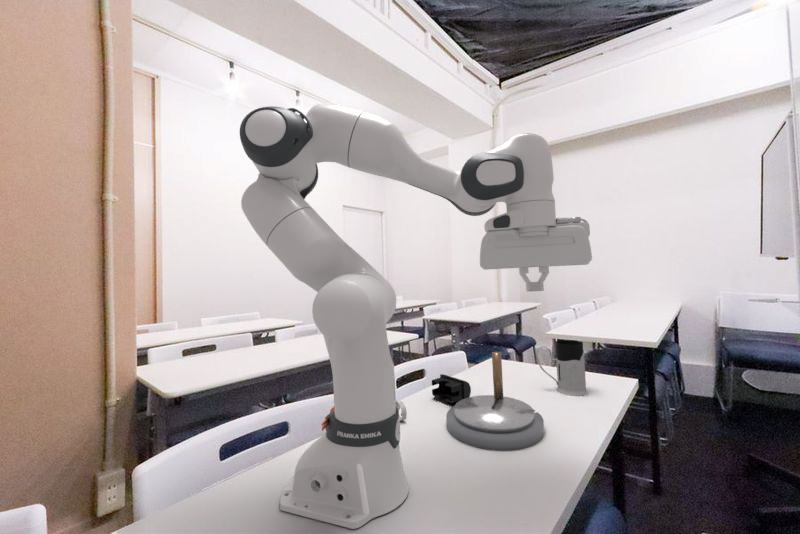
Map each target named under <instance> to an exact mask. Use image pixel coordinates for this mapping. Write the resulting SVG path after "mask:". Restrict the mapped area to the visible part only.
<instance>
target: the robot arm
mask: <svg viewBox="0 0 800 534" xmlns="http://www.w3.org/2000/svg"><path fill="white" fill-rule="evenodd" d="M239 139H240V143H241V146H242V148H243V150H244V153H245V154H246V156H247V157H248V158H249V160H251V161H252V164H253V165H254V166H255V168H256V169H257V171H258V172H259V173H258V175H257V179H256V180H255V181H254V182H252V183H251V184H250V185H248V186H247V188H246V189H245V191H244V192H243V194H242V195H241V200H240V201H241V202H240V205H241V206H240V207H241V209H242V211H243V215H244V216H245V217H246V219H247V221H248V222H249V224H250V225H251V227H252V229H253V230H254V232H256V234H257V236H258V237H259V238H260V239H261V241H262V242H263V243H264V244H265V245H266V246H267V247H268V249H269V250H270V252H271V253H273V254H274V256H275V257H276V258H277V259H278V260H279V261H280V262H281V263H282V265H284V267H285V268H286V269H287V270H288V271H289V272H290V273H291V274H292V276H293V277H294V278H295V279H297V280H298V281H300V282H302V283H303V284H305V285H307V286H308V287H310V288H311V289H312V290H314V291H315V292H316V295H315V297H314V298H313V303H312V308H311V309H312V311H311V312H312V319H313V322H314V324H315V326H316V328H317V329H318V330H319V332H320V334H322V335H323V339H324V342H325V347H326V350H327V353H328V358H329V362H330V366H331V367H330V368H331V373H332V385H333V386H332V387H333V389H332V390H333V403H334V404H333V407H331V409H330V410H329V411H330V412H329V413H328V414H327V415H326V416H325V418H324V421H322V423H321V426H322V427H321V431H324V430H325V432H324V433H323V435H321V436H320V437H319V438H317V440H315V441H314V442H313V443H311V445H310V446H308V447H307V448H306V450H305V451H304V452H303V453H302V454H301V456H300V458H299V459H298V461H297V463H296V466H295V469H294V472H293V473H294V474H293V476H292V477H291V478H290V480H289V481H288V482H287V483H286V485H285V487H284V488H283V490H282V491H281V495H280V498H279V509H280V511H283V512H286V513H289V514H294V515H297V516H298V515H299V516H301V517H305V518H309V519H313V520H316V521H321V522H325V523H327V524H328V523H329V524H333V525H335V526H336V525H337V526H339V527H344V528H347V529H352V530H354V529H358V528H360V527H362V526H363V525H365V524H367V523H368V522H369V521H370V520H372V519H374V518H377V517H379V516H382V515H385V514H387V513H390V512H392V511H393V510H395V509H397V508H398V507H400V505H402V503H404V501H405V500H406V499H407V497H408V495H409V492H410V485H409V481H408V479H407V475H406V473H405V468H404V466H403V465H404V464H403V460H402V455H401V450H400V449H401V448H400V441H401V421H400V418H399V415H400V411H399V412H398V408H397V407H396V401H397V400H396V381H395V380H396V379H395V378H396V377H395V375H396V374H395V365H394V362H393V359H392V356H391V350H390V346H389V341H388V340H389V339H388V332H387V323H388V322H389V321H390V320H391V319H392V317H393V316H394V313H395V312H396V311H395V310H396V308H397V296H396V295H397V294H396V292H395V289H394V287H393V285H392V284H391V283H390V282H389V281H388V280H387V279H386V278H385V277H384V276H383V275H382V274H381V273H380V272H378V270H377V269H376V268H374V267H373V265H371V264H370V263H369V262H368V261H367V260H366V259H364V257H362V256H361V255H360V254H359V253H358V252H357V251H356V250H355V249H354V248H352V247H351V246H350V245H349V244H348V243H346V241H344V240H343V239H342V238H341V236H339V235H338V233H336V231H335V230H333V228H332V227H331V226H330V225H329V224H328V222H326V220H324V219H323V218H322V217H321V216H320V215H319V213H318V212H317V211H316V210H315V209H314V208H313V207H312V206H311V205H310V204H309V203H308V202H307V201H306V200H305V199H306V198H307V196H308V195H309V194H310V193H312V192H313V190H314V188H315V187H316V185H317V183H318V179H319V169H318V164H319V163H336V164H340V165H342V166H344V167H347V168H349V169H353V170H355V171H356V170H357V171H359V172H363V173H366V174H370V175H373V176H378V177H382V178H387V179H389V180H390V179H391V180H393V181H398V182H401V183H403V184H406V185H410V186H412V187H415V188H417V189H420V190H423V191H424V192H427V193H430V194H433V195H435V196H438V197H441V198H442V199H445V200H447V201H448V202H449V203H451V205H453V206H454V207H455V208H456V209H457V210H458V211H460V212H461V213H462V214H464V215H467V216H471V217H479V216H480V217H481V216H483V215H485V214H487V213H488V212H491V211H492V209H493V208H494V207H495V206H496V205H497V203H501V202H502V203H505V204H506V205H505V206H506V212H505V213H501V214H499V215H496V216H494V217H491V218H489V219H488V220H486V222H485V223H484V226H483V227H484V231H485V234H484V235H483V237H482V240H481V243H480V247H479V248H480V249H479V250H480V252H479V266H480V268H482V269H483V270H485V271H486V270H502V269H504V270H505V269H518V271H519V273H518V274H519V275H520V277H521V278H522V281H524V283H525V289H526V292H544V283H545V281H546V279H547V277H548V276H549V273H550V268H549V267H565V266H566V267H567V266H569V267H571V266H586V265H589V264H590V262H591V261H592V259H593V255H592V254H593V253H592V246H591V242H590V238H589V237H590V233H591V227H590V223H589V221H587V220H586V219H584V218H581V216H573V217H556V215H557V213H556V199H555V196H554V194H553V183H554V180H555V179H554V167H553V158H552V152H551V149H550V146H549V145H550V144H549V143H548V141H547V140H546V139H545V138H544V137H543V136H541V135H539V134H536V133H527V132H526V133H521V134H520V133H519V134H514V135H512V136H510V137H509V138H508V139H507V140H506V141H505V142H503V143H502V144H500V145H499V146H497V147H495V148H492V149H491V150H490V149H489V150H488V151H485V152H479V153H476V154H475V155H472V156H471V157H470V158H468V159H467V160H466V162H465V163H464V164H463V166H462V168H461V170H454V169H452V168H449V167H447V166H443V165H441V164H439V163H436V162H434V161H431V160H428V159H426V158H424V157H423V156H421V155H419V154H418V153H417V152H416V151H415V150H414V149H413V148H412V147H411V145H410V144H409V143H408V142H407V139H406V138H405V136H404V135H403V133H402V132H401V130H400V129H399V127H398V126H396V125H395V124H394V123H392V122H391V121H389V120H387V119H385V118H383V117H381V116H379V115H378V114H373V113H372V112H367V111H364V110H360V109H358V108H353V107H349V106H344V105H338V104H332V103H318V104H315V105H313V106H312V107H311V108H310V109H309V110H308V111H307V113H306V114H304V113H303V112H301V110H298V109H297V108H293V107H289V108H285V107H282V106H273V105H271V106H269V105H268V106H262V107H258V108H255V109H253V110H252V111H251V112H248V113H247V114H246V116H244V118H243V119H242V121H241V123H240V125H239ZM529 268H538V272H539V273H540V274H541V275H540V276H539V278H538V280H537V281H531V280H530V278H529V277H528V275H527V274H529Z"/></svg>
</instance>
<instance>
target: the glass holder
mask: <svg viewBox="0 0 800 534" xmlns="http://www.w3.org/2000/svg"><path fill="white" fill-rule="evenodd" d="M583 343H584V342H582V341H579V340H572V339H562V340H556V341H555V348H556V351H555V352H556V358H553V356H552V352H551V349H550V348H549V347H547V346H544V345H541V346H539V347H538V348H537V349H536V351H535V357H536V361H537V363H538V365H539V368H540V369H541V370H542V371H543V373H545V374H546V375H547V376H549V377H550V378H551V379H553V380H554V382H556V385H557V387H556V391H557V393H558V394H561V393H562V395H565V396H571V397H581V395H584V396H586V394H587V393H589V391H588V390H587V383H586V381H587V380H586V365H585V351H584V344H583ZM542 348H545V349H547V350H548V352H549V358H550V360H552V361H555V362H556V376H557V379H556V378H555V377H553V376H552V375H551V374H550V373H548V372H547V371H546V370H545V369H544V368H543V367H542V365H541V364H540V361H539V358H538V351H539V349H542ZM587 395H588V394H587Z"/></svg>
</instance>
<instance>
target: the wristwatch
mask: <svg viewBox="0 0 800 534" xmlns="http://www.w3.org/2000/svg"><path fill="white" fill-rule="evenodd" d="M396 407H397V408H398V412H399V413H400V409H401V413H400V414H399V418H400V422H402V421H405V420H406V419H407V415H408V414H407V407H406V405H405V403H404V401H402V400H401V399H399V400H396Z"/></svg>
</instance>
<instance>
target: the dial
mask: <svg viewBox="0 0 800 534" xmlns="http://www.w3.org/2000/svg"><path fill="white" fill-rule="evenodd" d="M491 360H492V361H491V363H492V379H493V381H492V382H493V395H492V394H491V395H490V394H488V395H487V394H486V395H485V394H484V395H483V394H482V395H474V396H470V397H469V398H465V399H463V400H461V401H459V402H457V403H456V404H455V406H454V416H455V418H456V420H457V421H458V422H460V423H461V424H463V425H465V426H467V427H469V428H472V429H475V430H479V431H484V432H493V433H508V432H515V431H520V430H523V429H526V428H528V427H529V426H531V425H532V424H533V422H534V410H535V409H534V408H532V406H531V405H530V404H528V403H526V402H525V401H522V400H520V399H517V398H513V397H509V396H505V395H504V385H503V383H504V382H503V367H502V366H503V365H502V352H501V351H492V352H491ZM533 409H534V410H533Z"/></svg>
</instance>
